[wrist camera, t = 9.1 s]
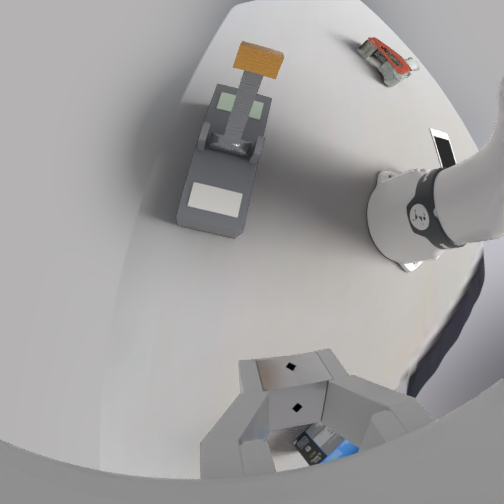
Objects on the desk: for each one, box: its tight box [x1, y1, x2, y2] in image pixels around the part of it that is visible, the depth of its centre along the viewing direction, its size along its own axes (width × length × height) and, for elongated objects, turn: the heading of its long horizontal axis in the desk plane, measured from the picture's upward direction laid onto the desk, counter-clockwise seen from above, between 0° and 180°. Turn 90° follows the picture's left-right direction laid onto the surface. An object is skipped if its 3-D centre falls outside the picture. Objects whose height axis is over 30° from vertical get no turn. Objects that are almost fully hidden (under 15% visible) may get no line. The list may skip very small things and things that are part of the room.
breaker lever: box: [208, 41, 284, 157], centre depth 28 cm, size 3×5×14 cm, turn 79°
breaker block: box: [176, 84, 272, 239], centre depth 35 cm, size 20×8×9 cm, turn 168°
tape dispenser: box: [356, 37, 420, 87], centre depth 49 cm, size 18×5×20 cm
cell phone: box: [430, 128, 457, 168], centre depth 52 cm, size 8×16×1 cm, turn 7°
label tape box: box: [293, 422, 359, 466], centre depth 33 cm, size 9×4×12 cm, turn 135°
